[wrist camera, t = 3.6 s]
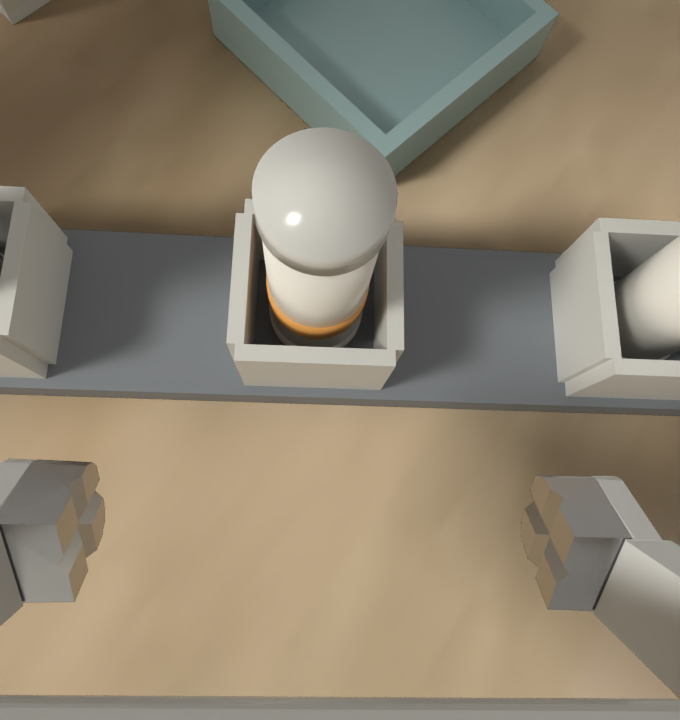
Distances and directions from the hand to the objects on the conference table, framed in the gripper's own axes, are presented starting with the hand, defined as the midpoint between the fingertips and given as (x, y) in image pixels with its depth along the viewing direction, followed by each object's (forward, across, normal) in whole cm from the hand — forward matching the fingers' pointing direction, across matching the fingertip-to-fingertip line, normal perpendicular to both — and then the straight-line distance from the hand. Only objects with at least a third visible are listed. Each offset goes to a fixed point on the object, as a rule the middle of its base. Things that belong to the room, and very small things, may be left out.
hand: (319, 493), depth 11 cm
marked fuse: (+14, 0, +3) cm, 15 cm away
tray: (+26, -3, -7) cm, 27 cm away
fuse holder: (+15, 0, +4) cm, 16 cm away
